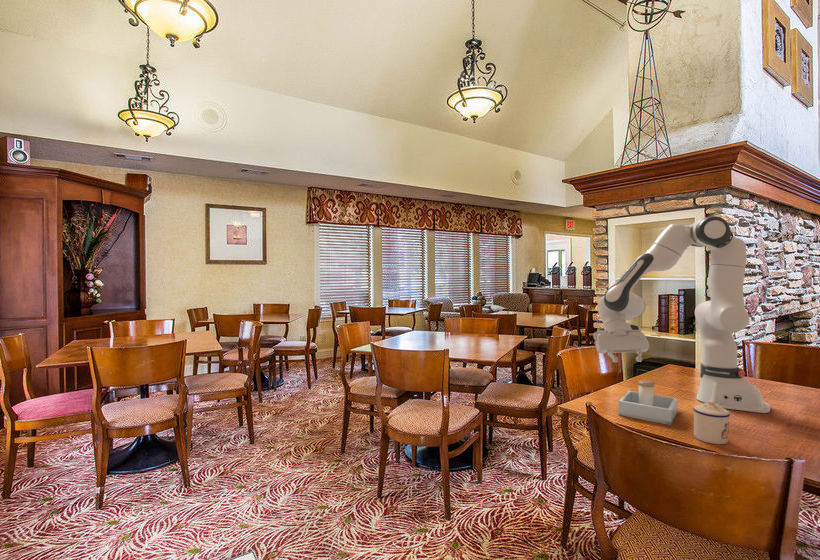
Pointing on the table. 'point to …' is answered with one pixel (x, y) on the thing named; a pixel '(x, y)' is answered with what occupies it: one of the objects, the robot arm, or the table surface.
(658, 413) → the serving bin
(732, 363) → the robot arm
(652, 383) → the dressing jar
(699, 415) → the teacup with lid
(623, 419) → the table surface
